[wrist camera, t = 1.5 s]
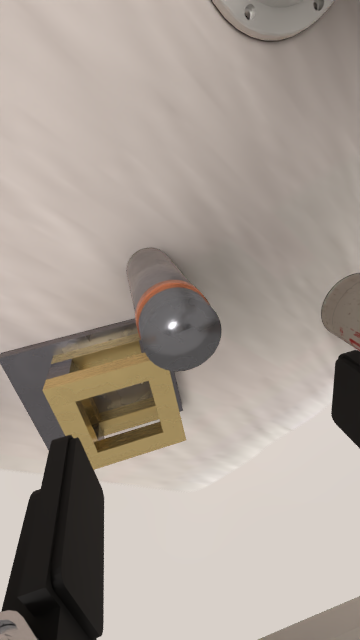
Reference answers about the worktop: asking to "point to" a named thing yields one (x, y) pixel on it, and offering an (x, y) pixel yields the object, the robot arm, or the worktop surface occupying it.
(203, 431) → the worktop surface
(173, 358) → the tube
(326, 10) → the robot arm
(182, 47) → the worktop surface
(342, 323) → the thermos bottle
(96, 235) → the worktop surface
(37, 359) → the tan frame fixture
